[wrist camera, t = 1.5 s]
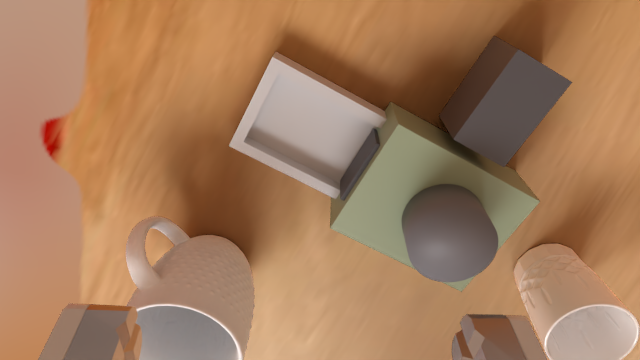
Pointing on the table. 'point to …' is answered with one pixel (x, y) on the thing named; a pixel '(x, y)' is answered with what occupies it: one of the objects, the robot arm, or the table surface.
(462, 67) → the table surface
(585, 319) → the white cup
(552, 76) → the tall grey rectangular block
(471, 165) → the green box with dome
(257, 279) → the table surface
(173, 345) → the mug
